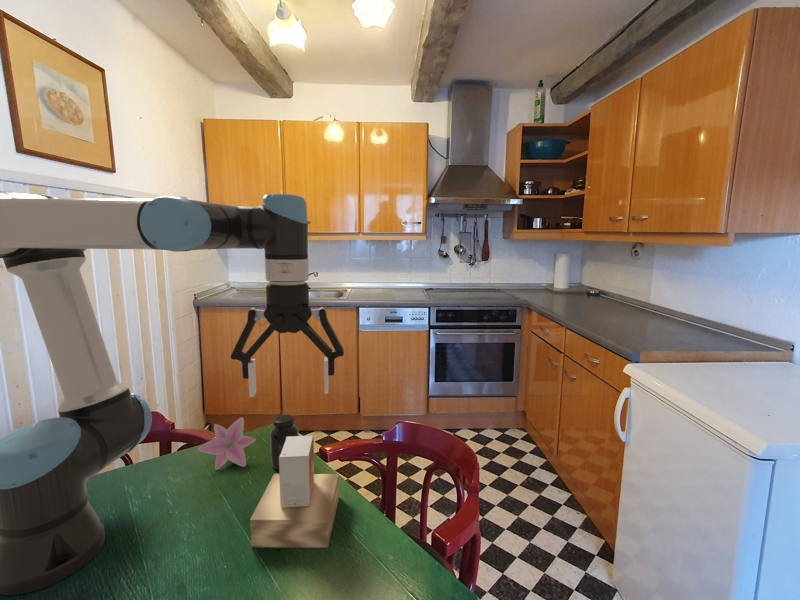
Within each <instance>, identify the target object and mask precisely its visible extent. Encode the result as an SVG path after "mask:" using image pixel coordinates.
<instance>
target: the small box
mask: <svg viewBox="0 0 800 600" xmlns="http://www.w3.org/2000/svg"><path fill="white" fill-rule="evenodd" d="M314 449H315V448H314V435H299V436H289V437H286V440H285V443H284V446H283V449H282V452H281V454H280V456H279V471H278V472H279V473H278V474H279V478H280V505H281V508H288V507H305V506H310V502H311V495H312V490H313V485H314V474H315V473H314V472H315V468H314V466H315V463H314V462H315V460H314V454H315V453H314V451H315V450H314Z"/></svg>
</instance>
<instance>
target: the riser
mask: <svg viewBox="0 0 800 600" xmlns="http://www.w3.org/2000/svg"><path fill="white" fill-rule="evenodd" d="M339 475H340V474H339V473H314V485H313V490H312V495H311V502H310V506H305V507H288V508H281V505H280V478H279V473H273V475H272V477H271V479H270V481H269V483H268V485H267V486H266V488H265V490H264V492H263V495H262V496H261V498H260V500H259V502H258V504H257V505H256V507H255V509H254V511H253V513H252V515H251V516H250V520H249V526H250V543H251V545H250V546H251V548H329V544H330V540H331V539H330V538H331V535H332V531H333V526H334V522H335V517H336V512H337V509H338V503H339V501H340V484H339V483H340V477H339Z"/></svg>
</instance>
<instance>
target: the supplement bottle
mask: <svg viewBox="0 0 800 600" xmlns="http://www.w3.org/2000/svg"><path fill="white" fill-rule="evenodd" d="M294 419H295V418H294V416H293V415H292V414H288V413H287V414H280V415H277V416H275V417H274V418H273V428H272V429H271V431H270V433H269V441H270V460H271V461H270V463H271V466H272V467H273V468H274V469H275V470H279V456H280V454H281V452H282V449H283V446H284V443H285V440H286V437H289V436H300V435H299V428H298V426H296V425H295V420H294Z"/></svg>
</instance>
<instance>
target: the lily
mask: <svg viewBox="0 0 800 600" xmlns="http://www.w3.org/2000/svg"><path fill="white" fill-rule="evenodd" d="M244 425H245V419H244V416H242V417H241V416H240V417H239V418H238V419H236V420H235V421H234V422H233V423H232V424H231V425H230V426H229V427H228V428H225V427H224V426H223V425H220V424H217V423H214V425H213V429H214V430H213V431H214V436H215V437H214V438H212V439H211V440H209V441H206V442H205V443H203V444H202V445H200V446H199V447H198V448H197V451H198V452H200V453H204V454H209V455H215V462H214V463H215V465H214V470H215V471H218V470H219V469H220V468H221V467H223V466H224V465H225V464H226V462H227V461H230V462H232V463H233V464H236V466H237V465H238V466H240V467H243V468H244V467H246V466H247V460H246V453H245V450H244V448H247V447H248V446H250V445H251V444H253V443H254V442H255V441H256V440H257V439H256V438H255V437H252V436H247V435H243V434H244V427H245V426H244Z"/></svg>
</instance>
